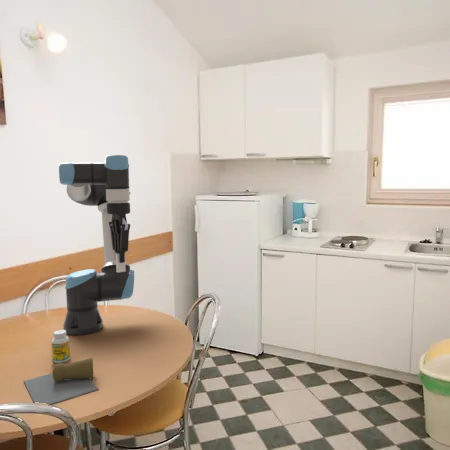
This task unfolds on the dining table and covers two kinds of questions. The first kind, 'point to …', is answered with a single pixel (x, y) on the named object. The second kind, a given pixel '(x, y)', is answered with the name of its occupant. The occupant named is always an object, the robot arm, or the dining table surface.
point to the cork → (73, 370)
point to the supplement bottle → (60, 347)
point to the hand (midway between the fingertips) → (121, 271)
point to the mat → (57, 388)
